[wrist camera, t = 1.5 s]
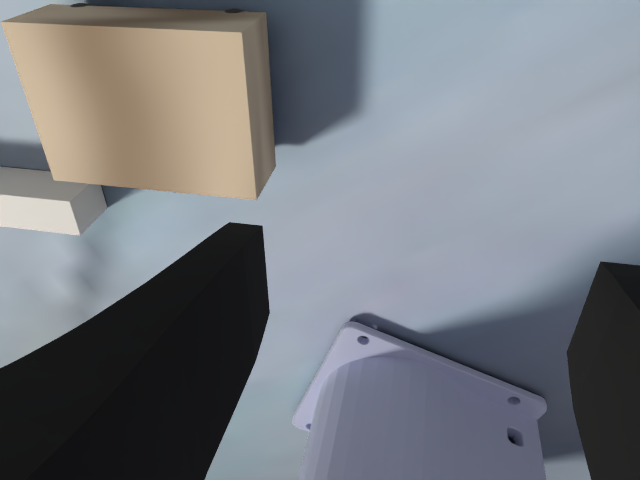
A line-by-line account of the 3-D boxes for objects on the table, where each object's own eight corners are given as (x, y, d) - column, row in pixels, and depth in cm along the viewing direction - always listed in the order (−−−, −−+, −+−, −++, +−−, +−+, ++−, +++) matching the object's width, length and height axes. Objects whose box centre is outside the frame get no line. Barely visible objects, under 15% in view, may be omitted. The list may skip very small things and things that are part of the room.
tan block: (273, 5, 16) (241, 30, 14) (281, 157, 19) (256, 201, 17) (63, -3, 17) (0, 20, 15) (101, 142, 20) (54, 181, 18)
